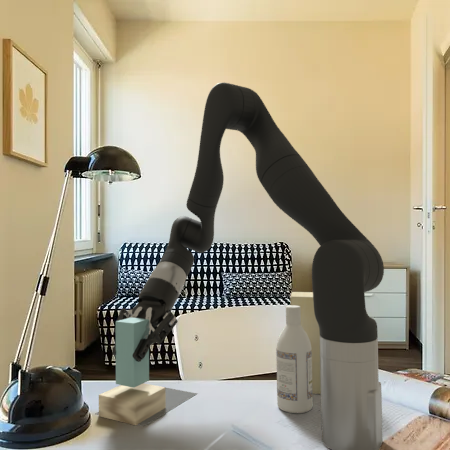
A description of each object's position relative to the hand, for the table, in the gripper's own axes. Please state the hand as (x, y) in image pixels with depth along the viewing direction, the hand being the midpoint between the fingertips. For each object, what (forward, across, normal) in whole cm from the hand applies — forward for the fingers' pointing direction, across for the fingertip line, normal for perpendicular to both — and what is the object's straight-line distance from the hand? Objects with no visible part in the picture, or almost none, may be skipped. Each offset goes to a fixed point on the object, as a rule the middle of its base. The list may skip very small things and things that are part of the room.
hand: (126, 357), depth 81 cm
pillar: (+2, 0, +5) cm, 6 cm away
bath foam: (-5, +27, +21) cm, 35 cm away
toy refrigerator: (-14, +26, +30) cm, 42 cm away
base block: (+7, 0, +9) cm, 11 cm away
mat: (+3, 0, +13) cm, 13 cm away
